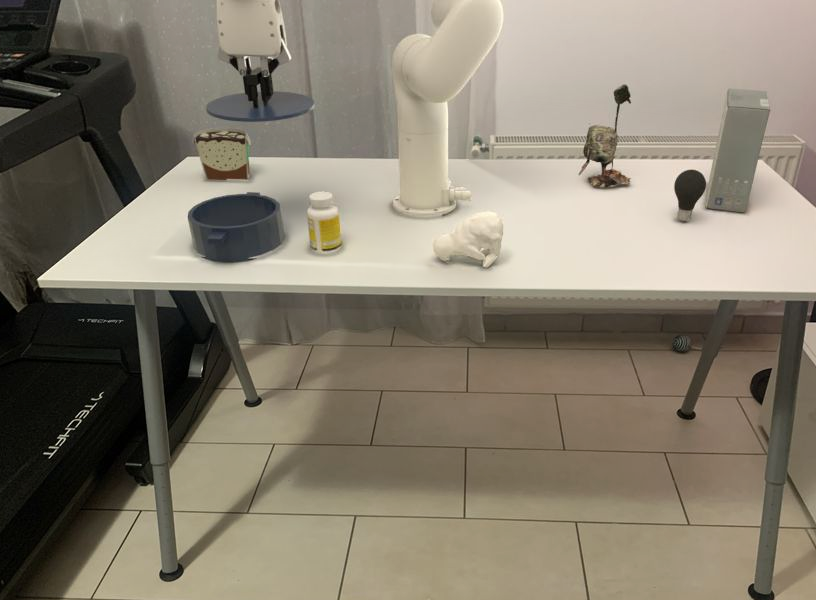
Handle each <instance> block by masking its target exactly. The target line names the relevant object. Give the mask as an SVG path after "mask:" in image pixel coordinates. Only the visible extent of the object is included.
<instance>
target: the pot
mask: <svg viewBox="0 0 816 600" xmlns="http://www.w3.org/2000/svg"><path fill="white" fill-rule="evenodd" d="M187 222H188V226H189V231H190V235H191V241H192V245H193V248H194V250H195V251H196V253H197V254H199V255H201V258H202V259H205V260H208V261H211V262H217V263H242V262H249V261H254V260H256V258H254V257H258V256H263V255H265V254H267V253H269V252H273V251H274V250H275V249H277V248H278V247H280V246H281V245H282V244H283V242H284V240H285V239H286V238H285V230H284V224H283V216H282V210H281V203H280V202H279V201H277V200H276V199H275V198H273V197H270V196H268V195H263V194H261V192H257V191H255V192H252V191H247V192H246V193H235V194H226V195H221V196H216V197H213V198H209V199H206V200H204V201H201V202H199V203H197V204H196V205H194V206H192V208H190V209H189V210H188V212H187Z"/></svg>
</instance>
